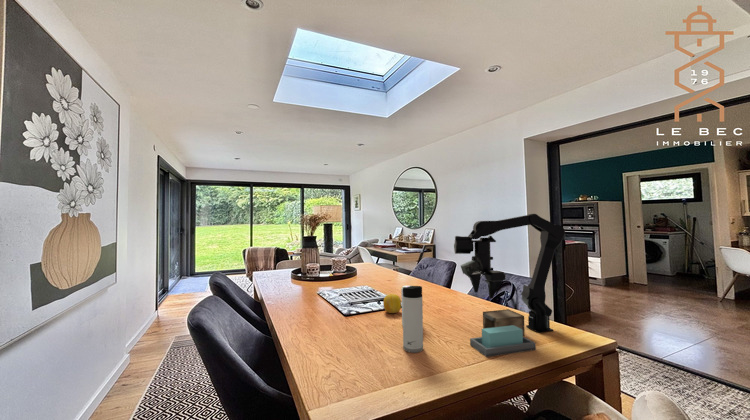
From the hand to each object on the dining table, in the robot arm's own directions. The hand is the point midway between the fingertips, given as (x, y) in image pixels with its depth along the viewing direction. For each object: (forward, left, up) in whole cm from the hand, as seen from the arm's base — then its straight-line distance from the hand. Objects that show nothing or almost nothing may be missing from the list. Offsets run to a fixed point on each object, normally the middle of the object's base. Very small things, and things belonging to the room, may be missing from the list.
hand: (483, 295), depth 114 cm
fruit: (+28, -27, -12) cm, 40 cm away
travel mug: (+33, +10, -12) cm, 36 cm away
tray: (+5, +17, -12) cm, 22 cm away
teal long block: (+5, +17, -11) cm, 21 cm away
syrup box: (+26, -11, -12) cm, 30 cm away
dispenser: (-3, +7, -12) cm, 14 cm away
